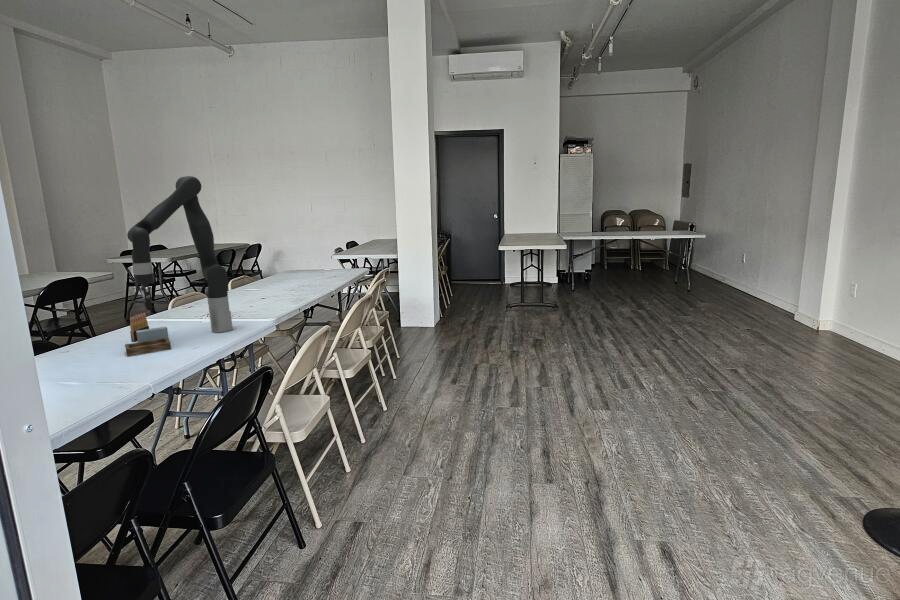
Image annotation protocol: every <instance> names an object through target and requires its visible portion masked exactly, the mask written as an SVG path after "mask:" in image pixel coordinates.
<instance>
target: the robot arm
mask: <svg viewBox="0 0 900 600" xmlns="http://www.w3.org/2000/svg"><path fill="white" fill-rule="evenodd" d="M201 191H202V183H201V181H200V180H199V179H198V178H197V177H195V176H191V175H186V176H185V175H184V176H181V177H179V178H178V179H177V180H176V182H175V190H174V191H173V192H172V193H171V194H170V195H169V196H168V197H166V198H165V199H164V200H162V201H161V202H160V203H159V204H157V205H156V206H155V207H154V208H152V209H151V210H150V211H149V212H148V213H147V214H146V215H145V216H144V218H142V219H141V220H140V221H138V222H137V223H136V224H134V225H133V226H132V227H131V228H129V230H128V232H127V233H126V237H127V239H128V241H130V242H131V243H132V251H131V258H132V261H131V262H132V272H133V278H134V284H135V285H140V293H141V296H142V299H143V304H144V307H145V309H146V311H152V310H153V306H152V304H153V303H152V301H153V298H152V297H153V296H152V295H153V294H152V287H151V286H150V284H153V283H155V275H154V268H153V265H152V258H151V253H150V252H151V251H150V249H151V238H150V234H152V233H153V232H154V231H156V230H158V229H160V227H161V226H163V224H165V223H166V222H167V221H168V220H169V219H170V217H172V216H173V214H174V213H175V212H176V211H178V209H180V208H181V207H183V210H184V213H185V217H186V220H187V224H188V228H189V231H190V235H191V239H192V241H193V243H194V247H195V249H196V251H197V254H198V257H199V262H200V263H199V264H200V267H201V272H202V277H203V278H204V279H205V281H207V282H206V283H207V291H206V296H207V306H208V314H209V321H210V329H211V333H215V334H217V333H225V332H226V333H227V332H229V331H233V330H234V329H233V320H232V318H233V317H232V311H231V310H230V303H229V296H228V292H229V280H228V273H227V270H226V269H225V267H224V266H222V265H220V264H219V262H218V259H217V256H216V253H215V239H214V238H215V237H214V232H213V229H212V226H211V224H210V221H209V219H208V217H207V215H206V213H205V212H204V211H203V209H202V207H201V205H200V201H199V196H198V195H199V193H200V192H201Z"/></svg>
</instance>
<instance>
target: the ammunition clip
mask: <svg viewBox="0 0 900 600" xmlns="http://www.w3.org/2000/svg"><path fill="white" fill-rule="evenodd" d="M129 323H130V324H129V326H130V332H129V333H130V340H131V343H137V342H138V339H137V333H136V331H139V330H145V329H150V326H149V324H148V319H147V314H146V313H145V312H143V313H142V312H141V313H137V314H135V315H132V316H130V318H129Z"/></svg>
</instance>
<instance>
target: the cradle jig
mask: <svg viewBox="0 0 900 600" xmlns="http://www.w3.org/2000/svg"><path fill="white" fill-rule="evenodd" d="M171 345H172V344H171V341H170V338H169V339H168V338H163V339H157V340H150V341H144V342H138V341H137V342H130V343H126V344H124V347H125V352H126V356H127V357H133V356H138V355H139V356H140V355H145V354H151V353H156V352H163V351H168V350H172V346H171Z"/></svg>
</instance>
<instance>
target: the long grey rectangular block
mask: <svg viewBox="0 0 900 600" xmlns="http://www.w3.org/2000/svg"><path fill="white" fill-rule="evenodd" d="M136 333H137V339H138V341H137V343H138V342H144V341H150V340H157V339H163V338H168V339H169V340H170V337H169V331H168V327H167V326H160V327H155V328H149V329H145V330H139V331H136Z"/></svg>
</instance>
